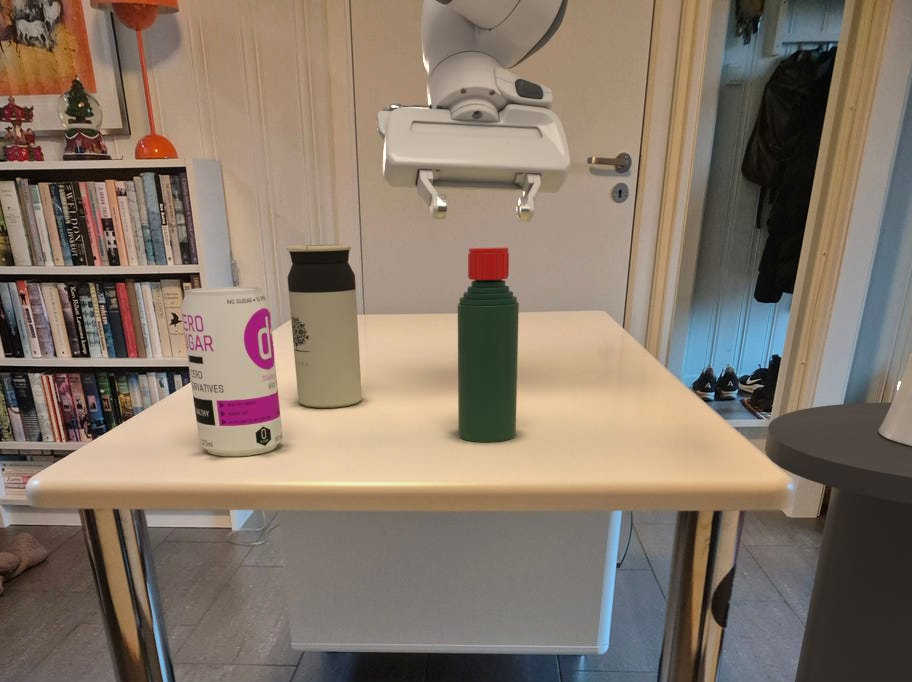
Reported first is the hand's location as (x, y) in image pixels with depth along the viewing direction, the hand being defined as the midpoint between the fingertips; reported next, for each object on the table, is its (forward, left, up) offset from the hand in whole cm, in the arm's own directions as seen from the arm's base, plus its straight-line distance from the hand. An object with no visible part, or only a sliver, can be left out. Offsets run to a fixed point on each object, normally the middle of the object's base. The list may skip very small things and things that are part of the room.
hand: (483, 216), depth 90 cm
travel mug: (+20, -5, -21) cm, 29 cm away
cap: (-2, +11, -5) cm, 12 cm away
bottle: (-2, +11, -21) cm, 23 cm away
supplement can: (+22, +19, -21) cm, 36 cm away
